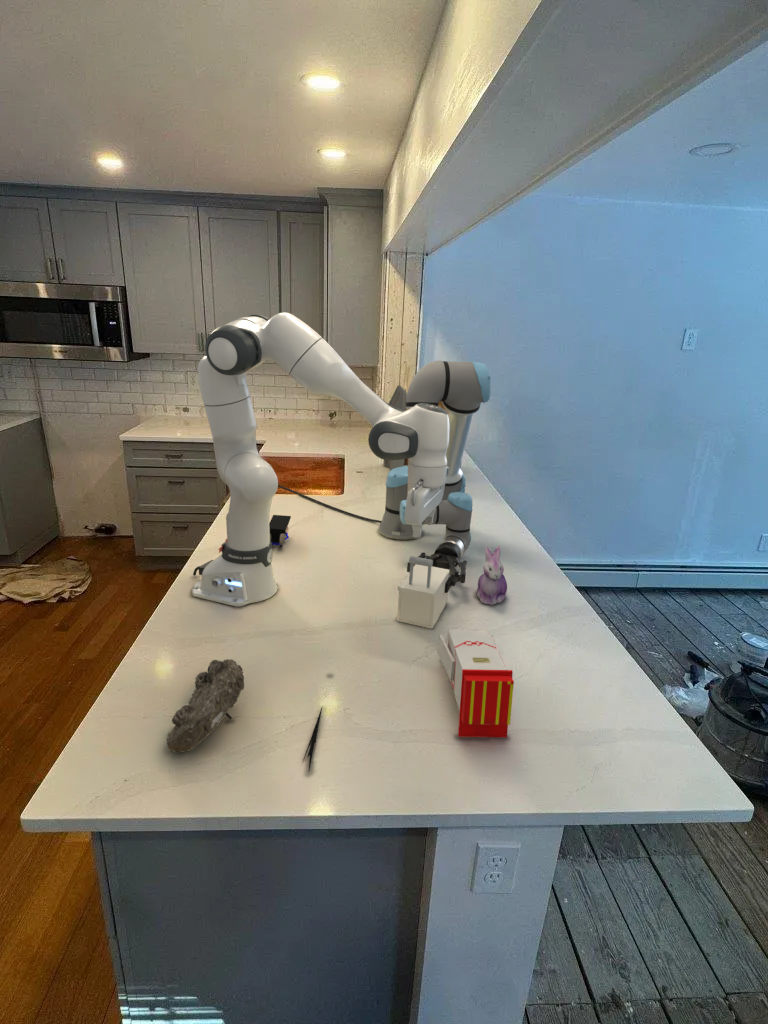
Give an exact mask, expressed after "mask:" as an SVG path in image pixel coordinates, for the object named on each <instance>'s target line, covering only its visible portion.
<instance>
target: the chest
mask: <svg viewBox="0 0 768 1024" xmlns="http://www.w3.org/2000/svg"><path fill="white" fill-rule="evenodd" d="M449 576H450V574H449V575H448V576H447V578H446V579H445V581H444V583H443V584H442V586H441V588H440V589H439V591H438V592H437V594H436V596H435V597H434V598H432V597H427V596H422V595H418V594H413V593H408V592H404V591H399V590H398V595H397V596H398V597H397V598H398V599H397V615H396V621H397V622H401V623H404V624H409V625H410V624H411V625H413V626H417V627H418V626H419V627H422V628H426V629H431V630H432V629H433V628H434V627H435V625H436V623H437V621H438V620H439V618H440V616H441V615H442V613H443V611H444V609H445V607H446V606H447V603H448V593H449V592H448V593H444V592H445V583H446V581H447V580H448V578H449Z"/></svg>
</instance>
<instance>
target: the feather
mask: <svg viewBox="0 0 768 1024" xmlns="http://www.w3.org/2000/svg"><path fill="white" fill-rule="evenodd" d="M329 675H330V676H331V675H332V674H331V673H330V674H329ZM322 710H323V707H321V708H320V710H319V713H318V716H317V719H316V723H315V725H314V728H313V731H312V733H311V737H310V739H309V742H308V745H307V748H306V751H305V754H304V757H303V760H302V763H301V767H302V765H303V763H304V761H305V758H308V759H309V760H308V762H307V763H308V764H307V766H308V771H310V770H311V766H312V765H311V764H312V760H313V757H315V756H314V755H315V751H316V749H315V746H317V739H318V733H319V729H320V722H321V717H322V712H323V711H322ZM313 754H314V755H313ZM306 755H307V757H306Z"/></svg>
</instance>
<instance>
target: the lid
mask: <svg viewBox="0 0 768 1024" xmlns="http://www.w3.org/2000/svg"><path fill="white" fill-rule="evenodd" d="M408 562H409V563H410V572H407V575H405V577H404V578H403V579H402V581H401V582H400V583H399V585H398V587H397V591H398V592H399V591H404V592H408V593H413V594H418V595H422V596H427V597H432V598H434V597H435V596H436V594H437V592H438V591H439V589H440V588H441V586H442V584H443V583H444V581H445V579H446V578H447V576H448V575H449V576H450V574H449V573H450V570H448V569H443V568H438V567H432V565H433V560H430V559H425V558H420V557H418V556H414V555H410V556H409V558H408ZM413 564H415V566H414V567H413Z"/></svg>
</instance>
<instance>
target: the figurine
mask: <svg viewBox="0 0 768 1024" xmlns="http://www.w3.org/2000/svg"><path fill="white" fill-rule="evenodd" d="M501 547H502V546H500V545H498V546H497V547H496V548H495V550H494V552H493V553H492V551H491V549H490V548H489V547H487V546H486V547H485V548H484V553H485V555H484V556H485V562H484V564H483V566H482V567H483V568H482V570H483V573H482V574H481V575H480V576H479V577H478V579H477V580H478V581H477V591H476V596H477V598H478V599H479V600H480V602H481V603H482V604H485V605H496V604H500V603H502V602H503V601H504V600H505V598H506V595H507V591H508V582H507V580H506V577H505V575H504V574H503V573H504V571H505V570H504V566H503V563H502V561H501V552H502V548H501Z"/></svg>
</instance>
